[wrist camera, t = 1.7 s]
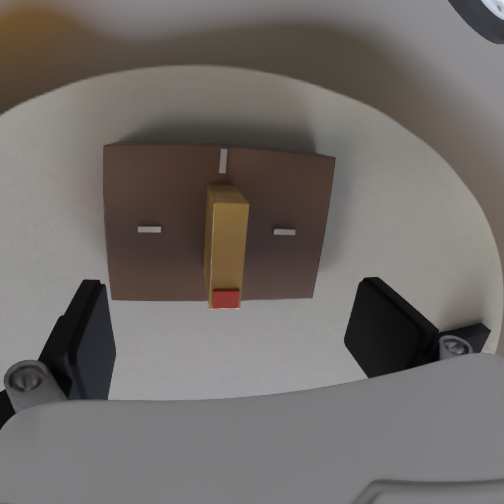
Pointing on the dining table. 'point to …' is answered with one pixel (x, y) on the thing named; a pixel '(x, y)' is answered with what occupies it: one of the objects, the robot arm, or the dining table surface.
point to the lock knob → (225, 245)
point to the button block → (470, 335)
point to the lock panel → (194, 217)
